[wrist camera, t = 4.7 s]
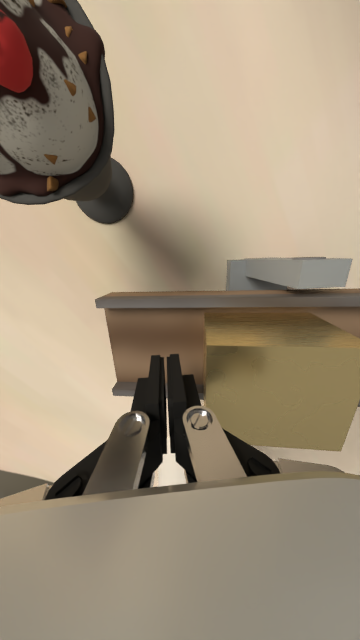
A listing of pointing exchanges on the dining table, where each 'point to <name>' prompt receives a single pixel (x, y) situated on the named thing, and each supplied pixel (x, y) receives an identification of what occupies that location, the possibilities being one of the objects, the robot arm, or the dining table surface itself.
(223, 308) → the beam
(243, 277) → the pivot stand
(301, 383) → the block
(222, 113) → the dining table surface
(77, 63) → the sundae
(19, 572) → the robot arm
